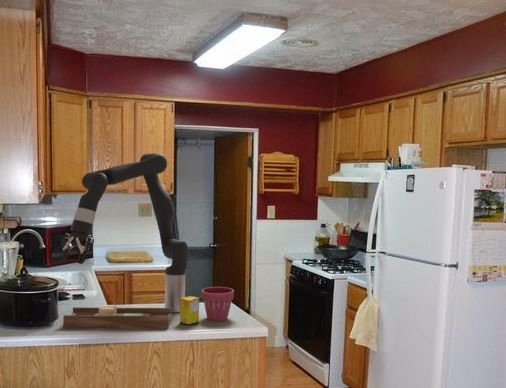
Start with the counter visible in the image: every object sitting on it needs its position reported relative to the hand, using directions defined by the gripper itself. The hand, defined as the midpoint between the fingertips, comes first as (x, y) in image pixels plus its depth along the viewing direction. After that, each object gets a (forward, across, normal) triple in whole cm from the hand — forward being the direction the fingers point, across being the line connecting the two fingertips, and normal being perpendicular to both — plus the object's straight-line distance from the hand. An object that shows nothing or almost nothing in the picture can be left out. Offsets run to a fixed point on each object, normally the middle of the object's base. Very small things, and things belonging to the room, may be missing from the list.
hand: (71, 262), depth 187 cm
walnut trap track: (+20, -6, -29) cm, 36 cm away
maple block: (+19, -2, -26) cm, 32 cm away
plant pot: (+11, -36, -57) cm, 68 cm away
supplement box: (+15, -30, -44) cm, 56 cm away
